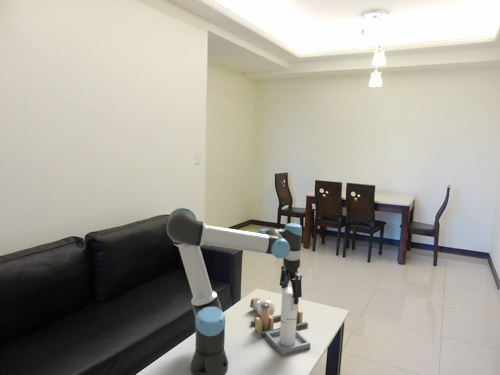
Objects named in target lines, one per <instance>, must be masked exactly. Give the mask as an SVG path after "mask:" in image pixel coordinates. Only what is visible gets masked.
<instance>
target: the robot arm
mask: <svg viewBox="0 0 500 375" xmlns="http://www.w3.org/2000/svg"><path fill="white" fill-rule="evenodd" d="M165 227H166V233H167V236H168V237H169V239H170V240H172V244H173V245H174V246H176V247H177V248H178V250H179V253H180V256H181V257H180V258H181V261H182V264H183V267H184V270H185V271H184V272H185V273H186V274H185V275H186V278H187V280H188V284H189V287H190V291H191V294H192V298H191V300H190V302H191V306H192V310H193V313H194V318H195V322H194V323H195V350H194V353H193V356H192V359H191V361H190V371H191V373H192V375H225V374H226V373H227V372H228V369H229V359H228V356H227V354H226V351H225V338H226V336H225V335H226V334H225V333H226V332H225V331H226V330H225V329H226V327H225V326H226V315H225V313H224V311H223V310H222V304H221V302H220V300H219V296H218V294H217V292H216V291H214V290H213V288H212V285H211V282H210V278H209V274H208V271H207V267H206V264H205V261H204V257H203V253H202V250H201V246H203V245H205V246H206V245H207V246H213V247H217V248H218V247H220V248H226V249H233V250H239V251H247V252H253V253H258V254H260V253H261V254H267V255H272V256H273V257H274V258H277V259H282V260H283V263H282V264H283V265H281V266H280V268H281V270H280V272H281V273H280V278H279V286H281V290H283V288H285V287H289V283H290V284H291V287H292V291H293V296H292V305H291V311H295V310H297V305H298V306H299V302H298V299H300V298H302V297H303V295H302V294H303V293H302V278H303V275H302V274H299V271H298V270H299V268H301V252H302V251H301V250H302V239H303V238H302V237H303V229H302V228H303V226H302V225H300V224H299V223H296V222H294V223H293V222H291V223H286V224H285V225H284V228H261V229H260V228H259V230H258V232H253V231H247V230H241V229H235V228H228V227H221V226H216V225H210V224H206V222H205V221H201V220H197V217H196V214H195V213H194V212H193V210H191V209H189V208H187V207H179V208H176V209H174V210H173V211H172V212H171V213H170V214H169V216H168V219H167V223H166V226H165Z"/></svg>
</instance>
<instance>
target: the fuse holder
mask: <svg viewBox="0 0 500 375" xmlns="http://www.w3.org/2000/svg"><path fill="white" fill-rule="evenodd" d="M303 313H304V312H303V311H302V310H301V309H300V308H298V320H297V324H296V330H297V331H298V330H300V329H305V328H309V326H308V325H309V322H307V321H304V322H303ZM278 321H281V314H279V315H274V316H273V315H272V316H271V315H269V327H268V331H262V320H261V317H260V316H257V317H255V320H251V321H250V326H251V327H255V330H256V331H257V332H258V334H260V337H261V338H266V333H268V332H272V331H276V330H280V327H277V328H274V324H275V322H278Z"/></svg>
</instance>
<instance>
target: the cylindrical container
mask: <svg viewBox="0 0 500 375" xmlns="http://www.w3.org/2000/svg"><path fill="white" fill-rule="evenodd" d="M281 290H282V289H281ZM292 296H293V291H292V286H288V287H285V288H283V290H282V291H281V307H280V308H281V309H280V310H281V311H280V315H281V320H280V327H279V328H280V343H281V344H283V345H285V346H292V345H294V344H295V336H296V320H297V310H295V311H291V305H292Z"/></svg>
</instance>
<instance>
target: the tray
mask: <svg viewBox="0 0 500 375" xmlns="http://www.w3.org/2000/svg"><path fill="white" fill-rule="evenodd" d="M265 339H266V340H267V341H268V342H269V344H271V346H272V347H273V349H275V351H277V352H278V354H279V355H280V356H281V357H283V356H286V355H291V354H294V353H297V352H301V351H305V350H308V349H311V342H310V341H309V340H308V339H307V338H306V337H305V336H304V335H302V334H301V333H300V332H299V331H298V329H297V330H296V336H295V344H294V345H292V346H285V345H283V344H281V343H280V330H276V331H272V332H268V333H266V337H265Z"/></svg>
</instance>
